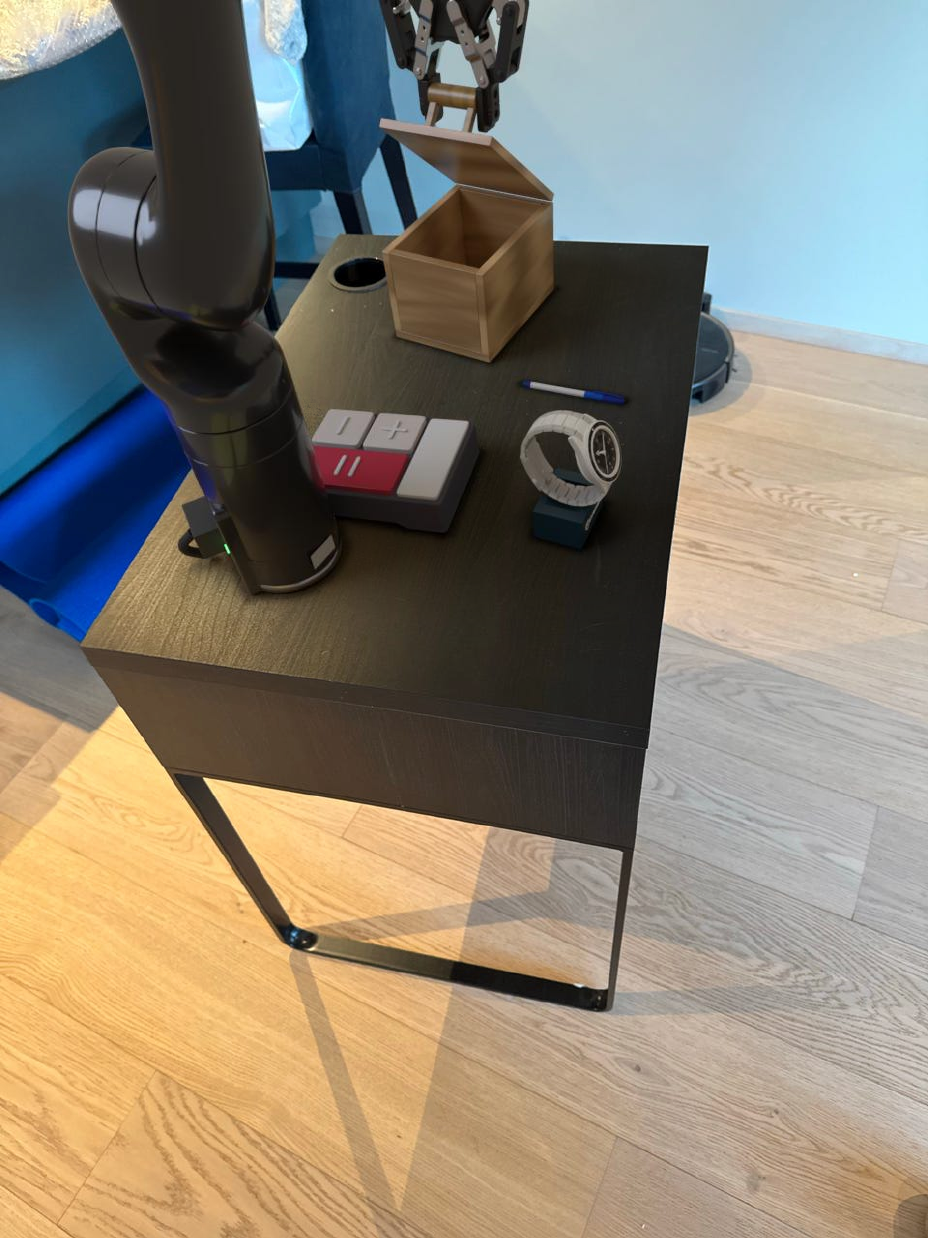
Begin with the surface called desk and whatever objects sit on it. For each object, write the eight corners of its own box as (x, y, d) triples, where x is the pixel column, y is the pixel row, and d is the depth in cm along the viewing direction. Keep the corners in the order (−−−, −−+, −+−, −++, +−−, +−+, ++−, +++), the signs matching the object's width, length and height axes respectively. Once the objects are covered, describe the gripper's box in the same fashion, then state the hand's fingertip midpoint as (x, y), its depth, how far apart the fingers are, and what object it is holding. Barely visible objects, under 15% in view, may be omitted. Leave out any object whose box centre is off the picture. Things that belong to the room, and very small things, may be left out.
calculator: (325, 402, 80) (475, 414, 76) (337, 437, 84) (481, 450, 79) (279, 481, 74) (438, 498, 70) (293, 516, 77) (447, 534, 73)
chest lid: (489, 145, 73) (506, 82, 72) (378, 126, 77) (391, 67, 76) (552, 201, 87) (566, 149, 86) (455, 183, 91) (467, 133, 90)
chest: (489, 362, 88) (482, 274, 80) (396, 336, 92) (381, 250, 84) (553, 289, 95) (553, 201, 87) (464, 268, 99) (456, 183, 91)
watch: (603, 555, 70) (609, 455, 62) (514, 531, 73) (508, 432, 64) (624, 509, 73) (633, 408, 64) (538, 488, 76) (535, 388, 67)
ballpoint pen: (626, 401, 82) (626, 392, 82) (623, 406, 82) (624, 398, 81) (524, 384, 85) (524, 376, 85) (521, 390, 85) (521, 382, 84)
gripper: (341, -104, 66) (375, 130, 79) (500, -97, 60) (508, 152, 74) (393, -127, 70) (418, 100, 83) (548, -122, 64) (548, 119, 77)
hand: (460, 123), depth 78 cm, fingers closed on chest lid, 5 cm apart
